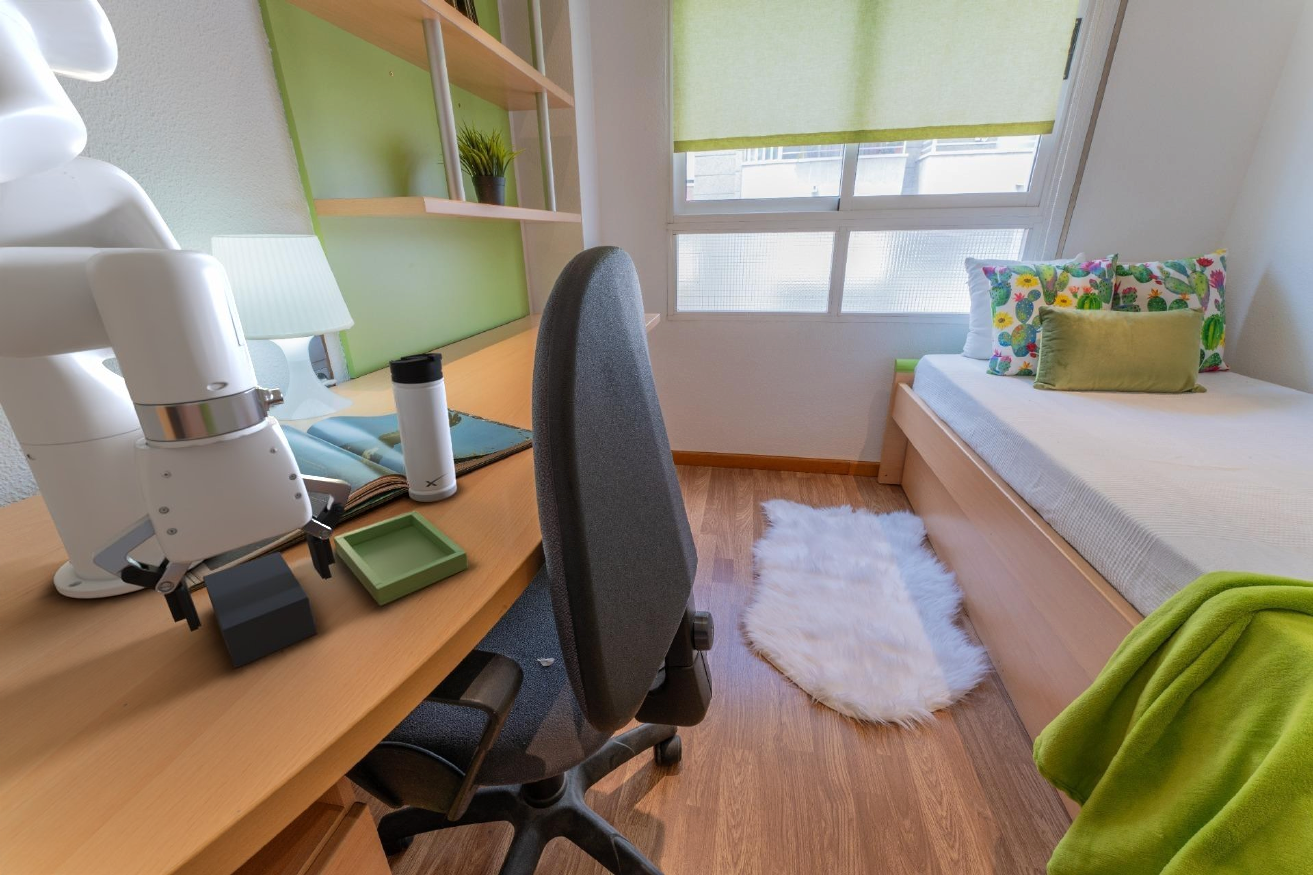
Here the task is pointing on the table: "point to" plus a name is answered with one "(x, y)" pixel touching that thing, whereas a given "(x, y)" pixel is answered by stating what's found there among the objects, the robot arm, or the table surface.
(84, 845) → the table surface
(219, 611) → the dark gray block
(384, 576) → the frame
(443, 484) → the travel mug
